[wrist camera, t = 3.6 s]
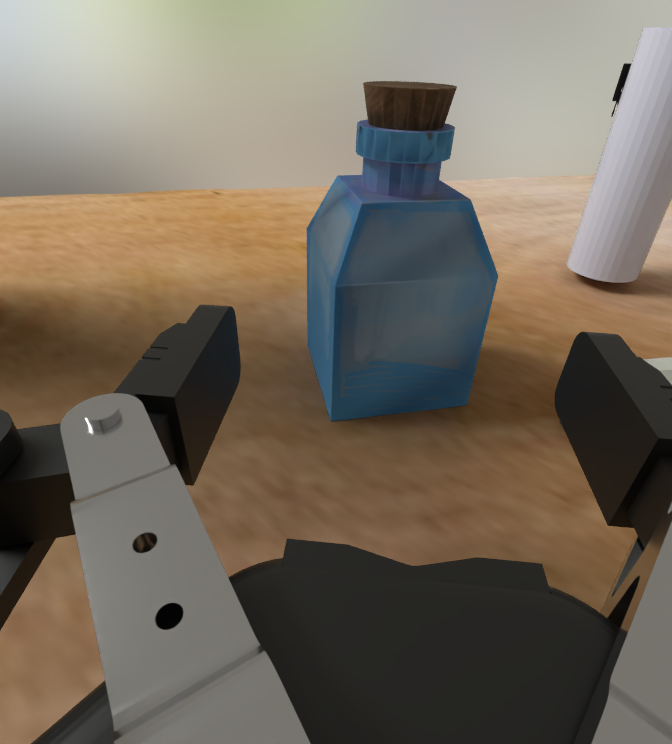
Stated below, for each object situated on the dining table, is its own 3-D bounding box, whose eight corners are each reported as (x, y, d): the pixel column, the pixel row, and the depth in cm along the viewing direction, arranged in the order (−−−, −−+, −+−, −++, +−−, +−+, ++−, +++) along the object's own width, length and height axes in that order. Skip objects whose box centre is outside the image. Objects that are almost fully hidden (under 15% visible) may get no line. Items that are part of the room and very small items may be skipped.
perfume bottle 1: (418, 335, 26) (456, 80, 19) (466, 405, 21) (542, 94, 14) (307, 345, 25) (305, 76, 18) (331, 421, 20) (340, 91, 13)
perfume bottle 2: (658, 300, 30) (870, -152, 19) (566, 293, 31) (717, -152, 19) (625, 266, 35) (778, -113, 23) (545, 260, 35) (657, -113, 24)
